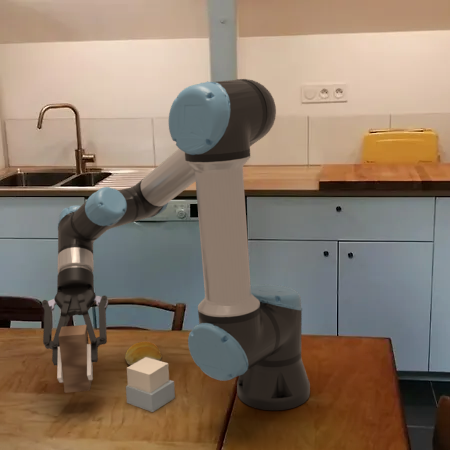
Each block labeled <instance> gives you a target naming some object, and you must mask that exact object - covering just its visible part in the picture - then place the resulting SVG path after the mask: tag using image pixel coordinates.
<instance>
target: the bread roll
mask: <svg viewBox="0 0 450 450" xmlns="http://www.w3.org/2000/svg"><path fill="white" fill-rule="evenodd" d="M124 357H125V361H126V364H128V365H129V366H131V365H133V364H134V363H136V362H138V361H140V360H141V359H143V358H145V357H148V358H151V359H155V360H158V361H162V354H161V351H160V348H159V347H158V346H157V345H156V344H155V343H153V342H150V341H140V342H136V343H134V344H132V345H131V346H130V347H129V348H128V349H127V351H126V353H125V356H124Z"/></svg>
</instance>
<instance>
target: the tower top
mask: <svg viewBox="0 0 450 450" xmlns="http://www.w3.org/2000/svg"><path fill="white" fill-rule="evenodd" d="M126 379H127V385H128V386H130V387H133V388H136V389H139V390H143V391H146V392H149V393H151V392H153V391H154V390H156V389H158V388H159V387H161V386H162V385H164V384H165V383H167V382H169V380H170V372H169V363H168V362H164V361H162V360H160V361H158V360H155V359H151V358H148V357H145V358H143V359H141V360H140V361H138V362H136V363H134V364H133V365H131V366H130V365H129V366H128V367H126Z"/></svg>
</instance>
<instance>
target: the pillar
mask: <svg viewBox="0 0 450 450" xmlns="http://www.w3.org/2000/svg"><path fill="white" fill-rule="evenodd" d="M87 344H90V343H89V334H88V331H87V325H86V324H79V325H69V326H68V325H67V326H65V327H61V330H60V333H59V345H60V355H61V363H62V372H63V382H62V384H63V388H64V389H63V390H64V393H77V392H90V391H91V387H92V381H93V380H89V379H88V377H87Z"/></svg>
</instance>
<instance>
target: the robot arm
mask: <svg viewBox="0 0 450 450" xmlns="http://www.w3.org/2000/svg"><path fill="white" fill-rule="evenodd" d="M276 115H277V107H276V104H275V99H274V98H273V95H272V93H271V92H270V90H269V89H267V88H266V86H265V85H263V84H261V82H258V81H256V80H253V79H248V78H240V79H232V80H231V79H230V80H220V81H219V80H218V81H205V82H200V83H196V84H192V85H189V86H187V87H185V88H183V89H182V90H181V91H180V92H179V93H178V95H177V97H176V98H175V99H174V100H173V102H172V103H171V105H170V110H169V114H168V130H169V135H170V137H171V139H172V141H173V142H175V143H176V144H175V146H176V147H177V148H178V149H176V151H174V152H173V153H172V154H170V155H169V156H168V157H167V158H165V160H164V161H162V162H161V163H160V164H159V165H158V166H156V167H155V168H154V169H153V170H151V171H150V172H149V173H148V174H147V175H145V177H144V178H142V179H141V180H140V181H139V182H137V183H136V184H135V185H132V186H131V187H126V188H123V189H120V190H118V189H116V188H113V187H109V186H103V187H101V188H99V189H98V190H97V191H95V192H93V193H92V194H91V195H90V196H88V198H87V199H86V201H85V202H83V204H82V205H70V206H68V207H64V208H63V209H62V210H61V211H60V213H59V216H58V217H59V218H58V223H57V273H58V274H57V280H56V281H57V286H56V288H57V289H56V294H55V296H54V298H53V299H50V300H47V299H44V300H42V301H41V305H42V307H43V310H44V315H43V317H44V318H43V334H42V335H43V337H42V338H43V339H42V343H43V346H44V347H45V349H46V350H51V351H52V353H51V357H52V358H51V361H52V364H53V366H55V367H56V366H57V370H56V371H57V372H56V373H57V375H56V377H57V378H56V379H57V381H58V383H60V384H63V372H62V363H61V355H60V345H59V333H60V330H61V327H65V326H68V322H69V321H70V318H71V317H73V316H76V315H77V316H82V317H83V320H84V325H87V333H88V339H89V341H90V343H89V344H87V377H88V379H89V380H92V381H93V379H94V377H93V376H94V375H93V373H94V372H93V363H98V360H99V347H100V346H102V345H106V344H107V343H108V341H107V313H106V312H107V308H108V305H109V300H108V296H107V295H102V296H100V295H96V292H95V291H94V290H95V289H94V288H95V286H94V281H95V280H94V279H95V278H94V242H95V241H96V240H97V239H99V238H100V237H101V236H103V234H104V233H106V232H107V231H108V230H111V229H113V228H117V227H118V228H119V227H120V226H124V225H127V224H131V223H134V222H137V221H142V220H144V219H148V218H153V217H156V216H157V215H159V214H162V213H164V211H166V209H167V207H168V205H169V202H170V201H172V200H173V199H175V198H176V197H177V196H179V195H180V194H181V193H183V191H185V190H186V189H188V188H189V187H190V186H192V185H193V184H194V183H195V188H196V189H195V190H196V201H197V212H198V213H197V214H198V227H199V237H200V238H199V239H200V250H201V263H202V274H203V286H204V289H203V290H204V298H203V299H202V300H201V301H200V303H199V304H198V305H197V312H198V324H196V325H194V326H193V328H192V329H191V331H190V332H189V334H188V338H187V345H188V350H189V351H188V352H189V354H190V356H191V359H192V360H193V362H194V363H195V365H196V366H197V367H199V369H200V370H201V371H202V372H203V374H205V375H207V376H208V377H210V378H212V379H214V380H216V381H217V380H218V381H221V382H222V381H230V380H233V379H235V378H236V377H238V379H237V384H236V386H237V387H236V392H237V393H236V394H237V397H238V398H239V400H240V401H241V402H242V403H243V404H245V405H247V406H249V407H252V408H254V409H257V410H263V411H284V410H290V409H294V408H297V407H299V406H301V405H303V404H304V403H306V402H307V401H308V399H309V398H310V395H311V394H310V393H311V389H310V388H311V384H310V380H309V378H308V375H307V372H306V367H305V365H304V362H303V359H302V321H303V320H302V317H303V315H302V314H303V313H302V311H303V307H302V297H301V295H300V293H299V292H298V291H297V290H295V289H294V288H291V287H290V286H289V287H288V286H284V285H280V284H267V283H266V284H254V285H253V284H252V285H251V272H250V257H249V245H248V244H249V243H248V227H247V215H246V213H247V211H246V197H245V184H244V183H245V182H244V165H245V164H246V163H247V162H248V161H249V160H250V158H251V146H253V145H254V144H255V143H257V142H259V141H260V140H261V139H263V138H265V136H266V135H267V134H268V133H269V132H270V131H271V130H272V128H273V126H274V123H275V121H276V117H277V116H276ZM94 303H96V306H97V308H98V328H99V329H98V330H99V332H98V333H99V334H98V335H99V336H97V337H96V333H95V330H94V327H93V324H92V321H91V318H90V313H89V310H90V309H91V307H93V305H94ZM55 306H57V307H58V308H59V309H60V310H61V311H60V316H59V320H58V323H57V327H56V330H55V333H54V337H53V338H52V336H53V335H52V334H53V333H52V331H53V312H54V310H55ZM52 339H53V340H52Z"/></svg>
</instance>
